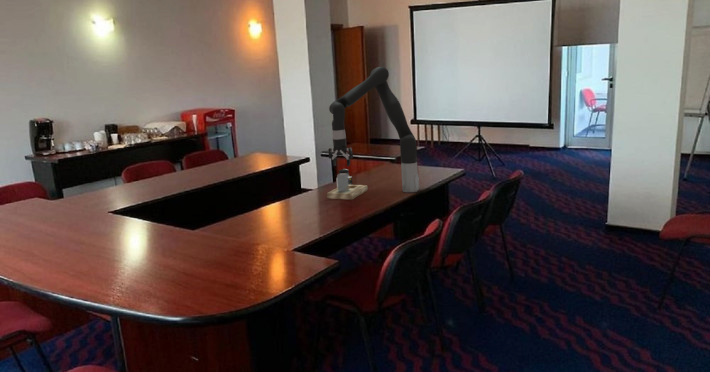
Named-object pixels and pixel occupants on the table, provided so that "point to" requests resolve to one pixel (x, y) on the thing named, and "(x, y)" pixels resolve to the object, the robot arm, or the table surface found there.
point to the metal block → (343, 182)
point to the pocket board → (348, 192)
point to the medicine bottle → (348, 176)
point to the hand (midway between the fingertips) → (341, 165)
